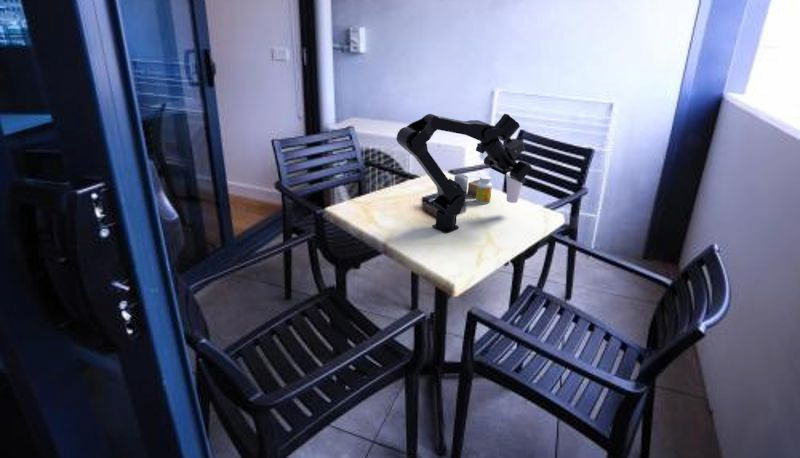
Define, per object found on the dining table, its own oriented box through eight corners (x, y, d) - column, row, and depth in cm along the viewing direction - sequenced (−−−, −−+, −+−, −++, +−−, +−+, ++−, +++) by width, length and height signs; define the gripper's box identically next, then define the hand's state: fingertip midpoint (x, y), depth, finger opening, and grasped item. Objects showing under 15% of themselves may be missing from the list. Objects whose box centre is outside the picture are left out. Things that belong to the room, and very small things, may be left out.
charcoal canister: (460, 200, 179) (461, 180, 175) (450, 196, 182) (451, 176, 179) (468, 197, 182) (470, 177, 178) (459, 193, 185) (460, 173, 182)
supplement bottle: (474, 203, 176) (476, 178, 172) (477, 198, 181) (479, 174, 177) (488, 205, 175) (491, 180, 171) (491, 200, 179) (494, 175, 175)
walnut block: (477, 198, 181) (478, 186, 179) (467, 194, 184) (468, 182, 182) (487, 195, 184) (488, 183, 182) (477, 191, 188) (478, 179, 186)
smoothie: (523, 204, 162) (528, 164, 156) (504, 203, 162) (509, 164, 156) (519, 198, 168) (524, 159, 162) (501, 197, 168) (505, 159, 162)
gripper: (532, 139, 146) (552, 169, 155) (495, 126, 161) (515, 154, 170) (508, 166, 146) (530, 195, 155) (473, 150, 160) (495, 177, 170)
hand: (517, 179), depth 162 cm, fingers closed on smoothie, 6 cm apart
